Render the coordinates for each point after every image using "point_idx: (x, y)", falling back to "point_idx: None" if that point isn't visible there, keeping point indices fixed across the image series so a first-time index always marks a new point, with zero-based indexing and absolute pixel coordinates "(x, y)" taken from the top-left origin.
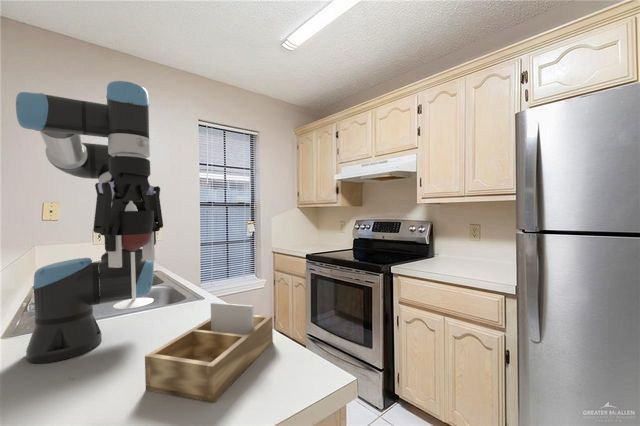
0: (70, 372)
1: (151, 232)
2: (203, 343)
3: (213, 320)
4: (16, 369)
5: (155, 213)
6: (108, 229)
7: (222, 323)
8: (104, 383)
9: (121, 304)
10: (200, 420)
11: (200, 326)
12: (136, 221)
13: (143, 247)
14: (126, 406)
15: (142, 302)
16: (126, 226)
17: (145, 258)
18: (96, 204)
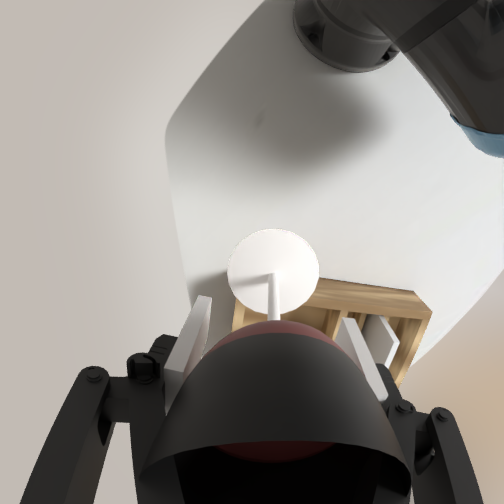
0: (275, 100)
1: (297, 461)
2: (331, 320)
3: (381, 327)
4: (273, 8)
5: (422, 498)
6: (114, 422)
7: (373, 342)
8: (252, 187)
9: (248, 259)
10: (202, 356)
11: (362, 312)
12: (206, 499)
13: (351, 352)
14: (207, 263)
15: (267, 300)
16: (183, 462)
17: (339, 333)
18: (31, 479)
